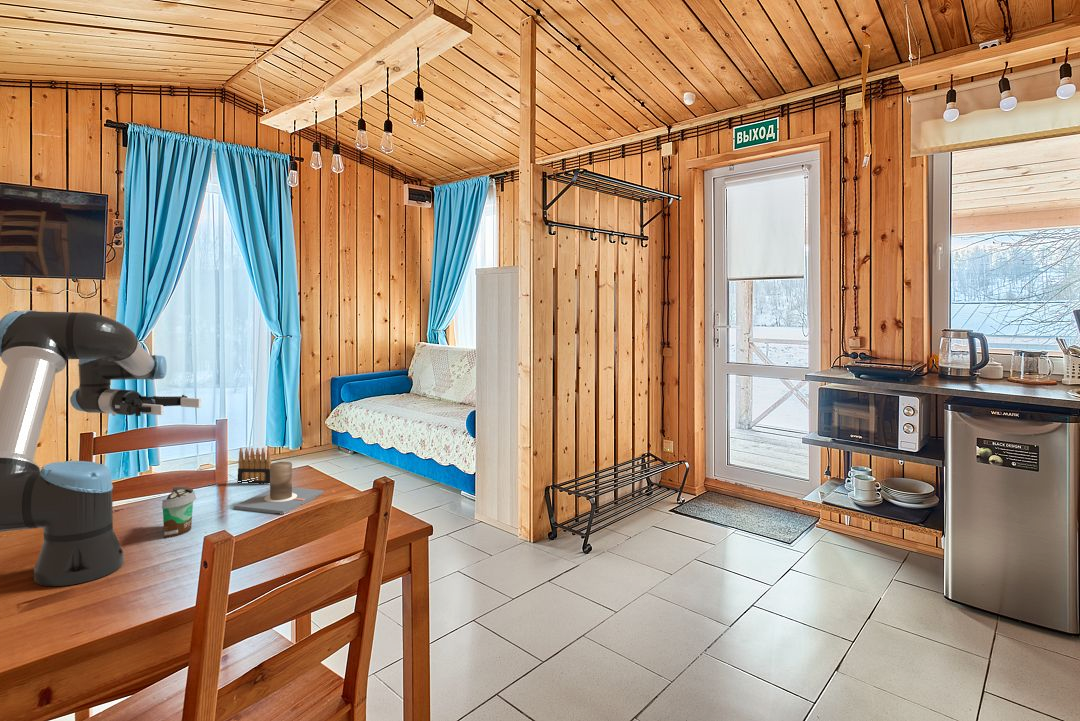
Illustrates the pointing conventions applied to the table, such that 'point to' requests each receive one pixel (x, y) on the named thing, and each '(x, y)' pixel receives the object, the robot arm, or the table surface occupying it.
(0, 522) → the robot arm
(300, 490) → the seat board
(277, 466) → the brown cylinder
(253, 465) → the ammunition clip
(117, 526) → the table surface
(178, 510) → the food container
